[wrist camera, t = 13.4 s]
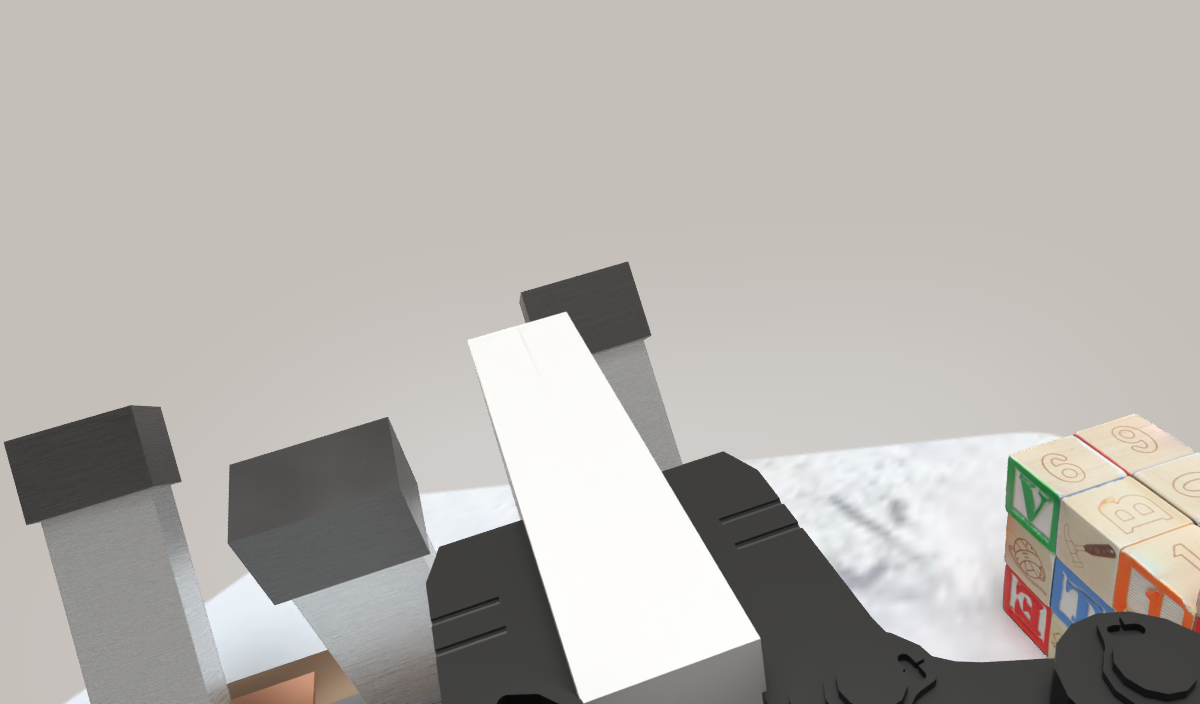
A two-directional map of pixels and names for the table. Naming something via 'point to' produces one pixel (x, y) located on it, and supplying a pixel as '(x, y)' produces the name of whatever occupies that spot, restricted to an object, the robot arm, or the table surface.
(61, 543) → the lever
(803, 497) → the table surface
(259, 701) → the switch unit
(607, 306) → the lever
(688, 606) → the robot arm
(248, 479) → the lever middle
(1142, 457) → the stack of blocks
